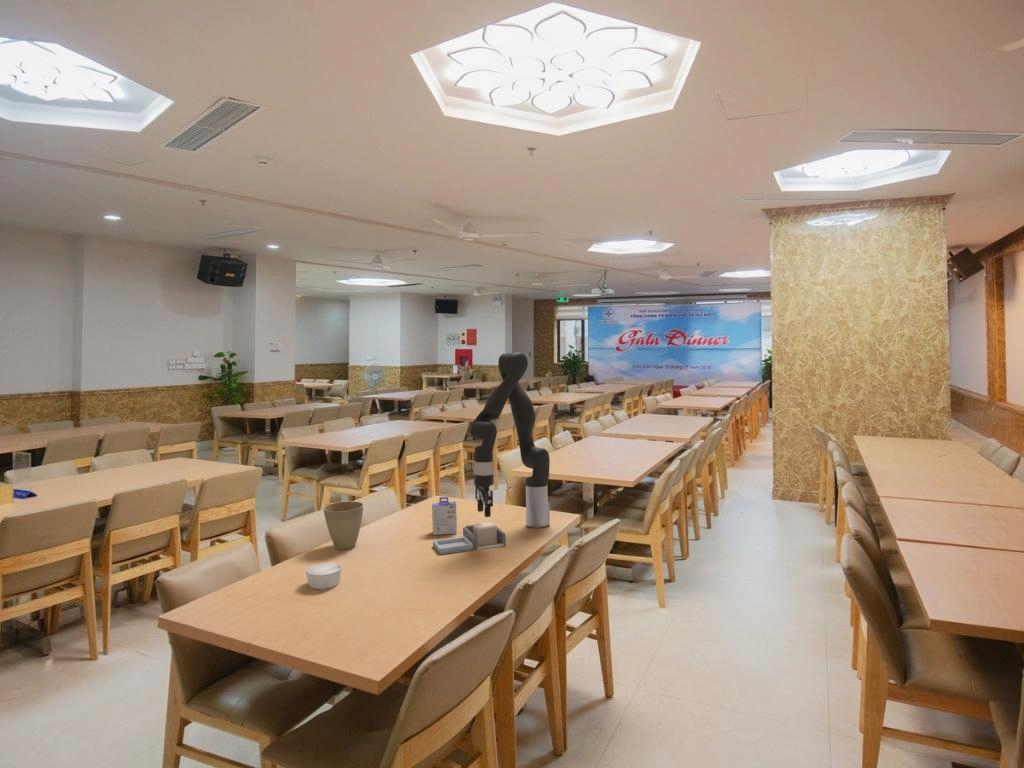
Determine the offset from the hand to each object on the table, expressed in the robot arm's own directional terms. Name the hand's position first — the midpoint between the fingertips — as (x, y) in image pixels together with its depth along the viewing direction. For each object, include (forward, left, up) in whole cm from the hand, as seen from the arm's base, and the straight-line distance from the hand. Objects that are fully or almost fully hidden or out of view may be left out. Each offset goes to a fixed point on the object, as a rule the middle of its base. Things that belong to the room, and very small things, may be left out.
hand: (483, 514), depth 228 cm
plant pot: (+51, -18, -12) cm, 55 cm away
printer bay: (0, 0, -11) cm, 11 cm away
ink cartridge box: (+11, -19, -12) cm, 25 cm away
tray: (+13, +1, -11) cm, 17 cm away
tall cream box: (0, 0, -12) cm, 12 cm away
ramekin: (+61, +17, -12) cm, 64 cm away
